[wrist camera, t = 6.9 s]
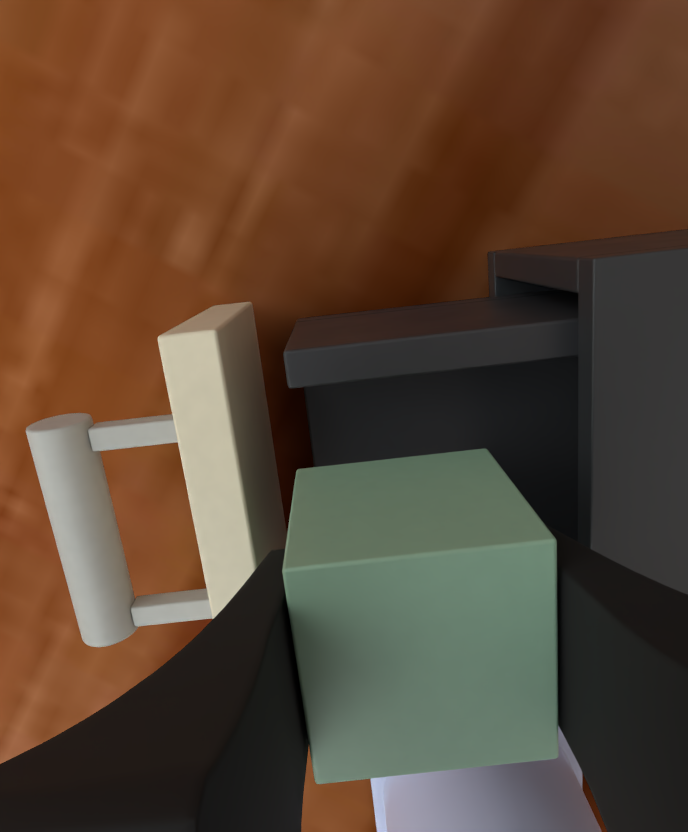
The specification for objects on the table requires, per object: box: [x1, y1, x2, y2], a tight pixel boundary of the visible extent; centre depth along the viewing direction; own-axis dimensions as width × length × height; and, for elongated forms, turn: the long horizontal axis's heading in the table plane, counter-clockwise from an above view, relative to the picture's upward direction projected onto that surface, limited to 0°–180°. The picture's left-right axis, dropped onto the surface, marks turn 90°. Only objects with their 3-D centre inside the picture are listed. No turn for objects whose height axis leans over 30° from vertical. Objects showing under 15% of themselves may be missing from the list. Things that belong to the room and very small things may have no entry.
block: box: [282, 448, 559, 784], centre depth 11 cm, size 4×4×4 cm
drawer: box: [26, 289, 578, 647], centre depth 16 cm, size 17×10×6 cm, turn 96°
